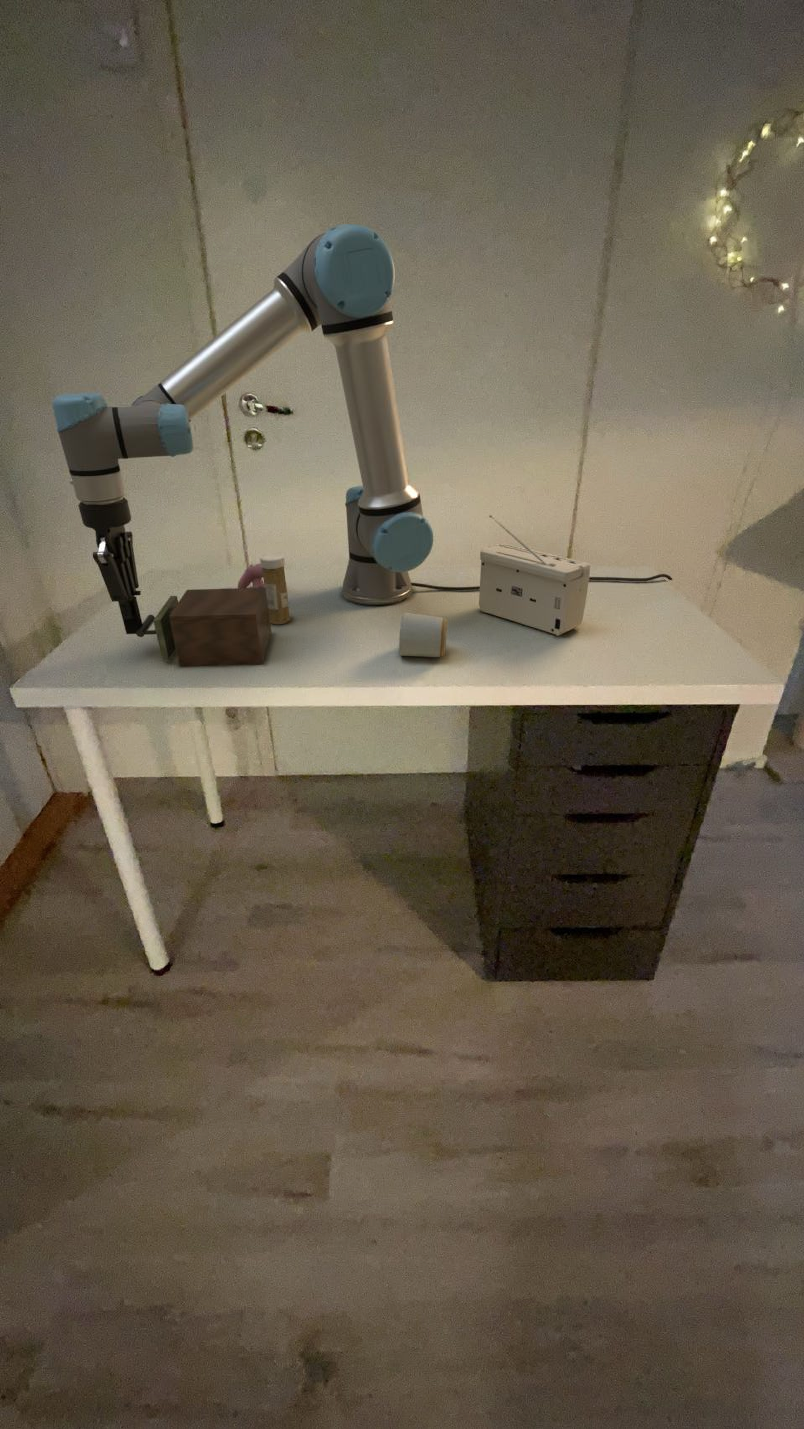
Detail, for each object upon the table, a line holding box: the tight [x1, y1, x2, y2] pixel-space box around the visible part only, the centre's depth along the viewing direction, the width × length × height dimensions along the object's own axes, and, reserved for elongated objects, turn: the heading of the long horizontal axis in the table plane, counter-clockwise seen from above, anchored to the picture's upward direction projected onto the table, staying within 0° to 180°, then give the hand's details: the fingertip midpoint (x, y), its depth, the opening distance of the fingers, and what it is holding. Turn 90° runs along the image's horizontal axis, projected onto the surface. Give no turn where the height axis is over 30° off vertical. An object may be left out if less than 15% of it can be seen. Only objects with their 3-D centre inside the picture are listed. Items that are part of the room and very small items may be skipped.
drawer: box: [135, 595, 179, 662], centre depth 118 cm, size 18×11×8 cm, turn 92°
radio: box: [478, 514, 591, 637], centre depth 126 cm, size 21×8×20 cm, turn 47°
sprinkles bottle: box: [259, 552, 291, 625], centre depth 129 cm, size 5×5×13 cm
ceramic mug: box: [398, 612, 448, 658], centre depth 118 cm, size 11×8×8 cm
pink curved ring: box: [237, 563, 264, 588], centre depth 146 cm, size 10×5×7 cm, turn 58°
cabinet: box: [169, 587, 272, 667], centre depth 119 cm, size 15×13×10 cm
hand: (135, 632), depth 119 cm, fingers closed
